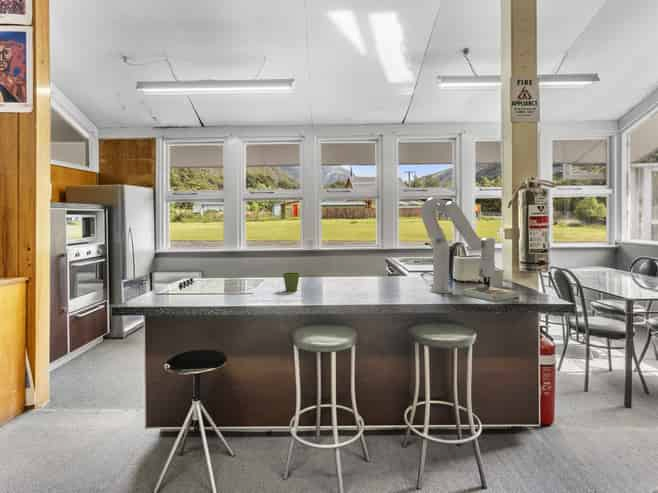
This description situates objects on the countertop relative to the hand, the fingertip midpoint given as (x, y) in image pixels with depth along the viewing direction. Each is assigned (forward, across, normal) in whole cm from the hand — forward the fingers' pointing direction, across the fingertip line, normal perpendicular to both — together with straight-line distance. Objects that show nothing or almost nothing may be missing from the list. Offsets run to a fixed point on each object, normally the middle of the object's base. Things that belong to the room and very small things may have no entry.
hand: (486, 287), depth 252 cm
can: (+4, -27, -15) cm, 31 cm away
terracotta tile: (+1, +11, +13) cm, 17 cm away
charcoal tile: (+1, +4, 0) cm, 4 cm away
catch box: (+4, +9, +6) cm, 12 cm away
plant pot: (+5, +98, -73) cm, 122 cm away
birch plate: (+4, -2, +6) cm, 7 cm away
